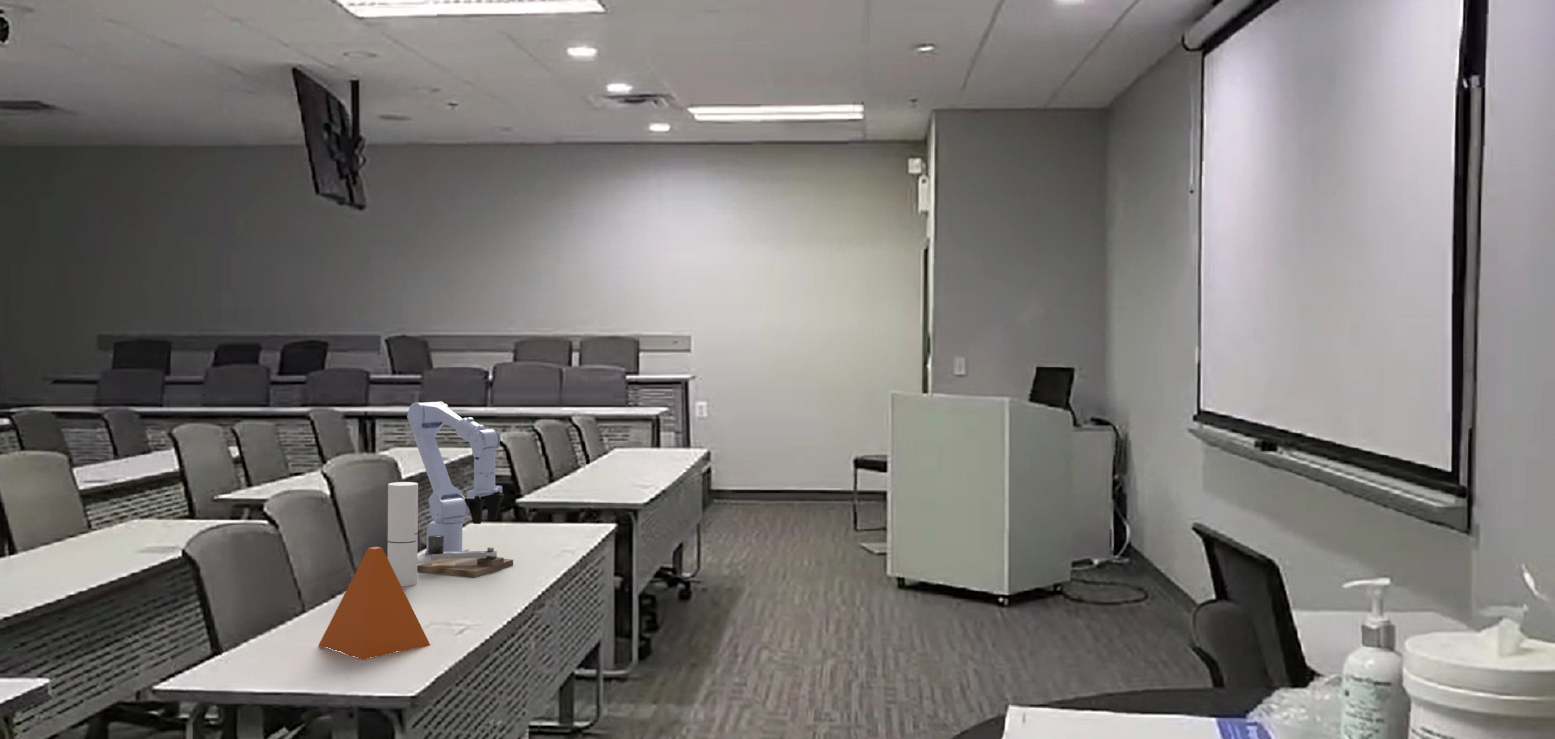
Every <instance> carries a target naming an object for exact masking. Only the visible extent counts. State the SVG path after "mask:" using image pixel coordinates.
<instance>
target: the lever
mask: <svg viewBox="0 0 1555 739" xmlns="http://www.w3.org/2000/svg"><path fill="white" fill-rule="evenodd" d="M494 549H495V548H494V547H487V550H474V551H471V550H470V551H462V552H444V536H443V535H430V536H428V553H427V554H430V555H431V560H438V559H458V558H496V557H498V556H497V554H498V553H497V550H494Z"/></svg>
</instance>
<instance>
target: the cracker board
mask: <svg viewBox="0 0 1555 739" xmlns="http://www.w3.org/2000/svg"><path fill="white" fill-rule="evenodd" d="M512 566H514V559H510V558H504V557H501V556H500V557H499V556H497V557H496V558H458V559H434V560H432V561H428V562H425V563H422V564H417V573H418V572H419V573H420V572H421V573H429V574H439V575H450V576H459V577H469V578H477V577H480V576H483V575H484V576H485V575H487V574H491V573H494V572H496V571H499V570H500V571H501V570H503V569H505V568H508V567H509V568H510V567H512Z"/></svg>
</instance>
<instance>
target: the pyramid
mask: <svg viewBox="0 0 1555 739" xmlns="http://www.w3.org/2000/svg"><path fill="white" fill-rule="evenodd" d="M407 597H408V596H407V595H406V592H405V591H404V589H403V586H401V585H400V583H399V581H398V579H397V577H396V575H395V573H394V571H393V568H392V566H391V564H390V562H389V560H388V555H387V554H386V553H385V551H384V549H383V547H380V546H372V547H368V548H367V550H366V551H365V554H364V555H363V557H362V559H361V561H360V563H359V565H358V567H357V569H356V570H355V573H354V575H353V577H352V579H351V581H350V582H349V585H348V587H347V589H346V590H345V593H344V594H343V596H342V598H341V601H340V602H339V605H338V606H337V609H336V610H335V612H334V614H333V615H332V618H331V620H330V622H329V624H328V625H327V628H326V629H325V631H324V633H323V635H322V638H321V639H320V640H319V644H318V645H319V646H318V647H320V646H322V647H321V648H323V647H328V648H331V649H333V650H337V651H341V652H343V653H345V654H348V655H349V656H348V657H350V656H355V657H358V658H359V659H358V660H360V659H362V660H361V661H365V660H368V659H367V658H370V657H374V658H376V657H375V656H379V657H382V655H383V656H386V655H385V654H388V655H390V654H389V653H392V654H394V653H393V652H396V651H402V652H405V650H406V651H410V650H409V649H411V650H413V649H412V648H415V649H418V648H417V647H420V648H423V647H424V648H425V647H429V646H431V643H430V641H429V639H428V638H427V635H426V633H425V631H424V629H423V627H422V625H421V623H420V622H419V619H418V617H417V614H416V613H415V611H414V609H413V607H412V606H411V603H410V601H409V599H408V598H407ZM364 659H365V660H364ZM370 659H371V658H370Z"/></svg>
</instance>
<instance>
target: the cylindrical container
mask: <svg viewBox="0 0 1555 739" xmlns="http://www.w3.org/2000/svg"><path fill="white" fill-rule="evenodd" d="M418 515H419V483H418V482H413V481H399V482H397V481H396V482H390V483H388V484H387V558H388V560H389V562H390V564H391V566H392V568H393V571H394V573H395V575H396V577H397V579H398V581H399V583H400V585H401V587H410V586H415V585H417V584H418V571H417V565H418V543H419V542H418V536H419V535H418V532H419V531H418V526H419V525H418V521H419V518H418V517H419V516H418Z"/></svg>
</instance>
